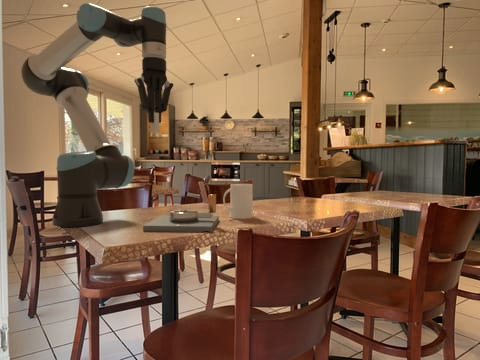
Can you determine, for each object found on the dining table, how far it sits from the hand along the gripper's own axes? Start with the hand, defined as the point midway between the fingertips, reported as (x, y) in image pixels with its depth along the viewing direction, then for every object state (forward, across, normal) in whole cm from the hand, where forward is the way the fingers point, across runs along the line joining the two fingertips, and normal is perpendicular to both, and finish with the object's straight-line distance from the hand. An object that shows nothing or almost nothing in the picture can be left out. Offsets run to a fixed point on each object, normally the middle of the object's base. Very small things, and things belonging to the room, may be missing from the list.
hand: (154, 133), depth 119 cm
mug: (+30, +28, -8) cm, 42 cm away
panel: (+29, +5, -9) cm, 31 cm away
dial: (+28, +7, -11) cm, 30 cm away
